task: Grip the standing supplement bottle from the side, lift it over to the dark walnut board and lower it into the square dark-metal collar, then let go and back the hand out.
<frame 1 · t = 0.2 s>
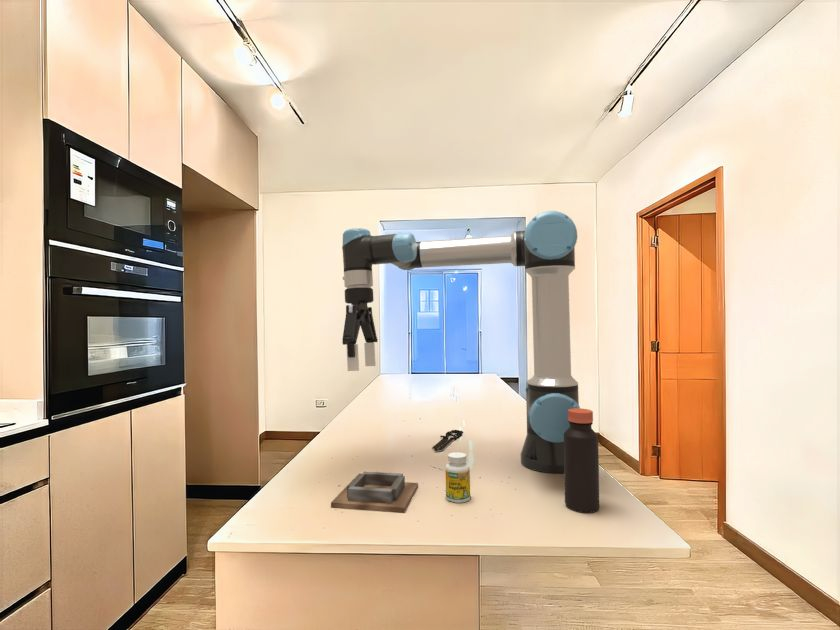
hand: (362, 368, 115), 27 cm above the counter, tool pointing down, fingers open, 13 cm apart
collar board: (376, 496, 98), on the counter
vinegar: (582, 507, 91), on the counter
knife: (448, 443, 142), on the counter
supplement bottle: (458, 499, 96), on the counter
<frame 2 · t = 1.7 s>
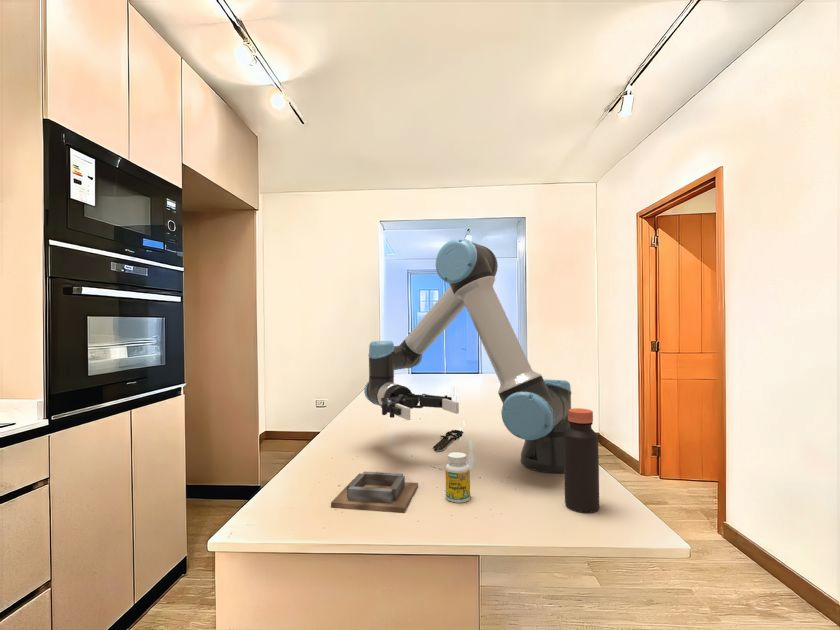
hand: (434, 411, 105), 18 cm above the counter, tool horizontal, fingers open, 13 cm apart
nothing on the counter moved.
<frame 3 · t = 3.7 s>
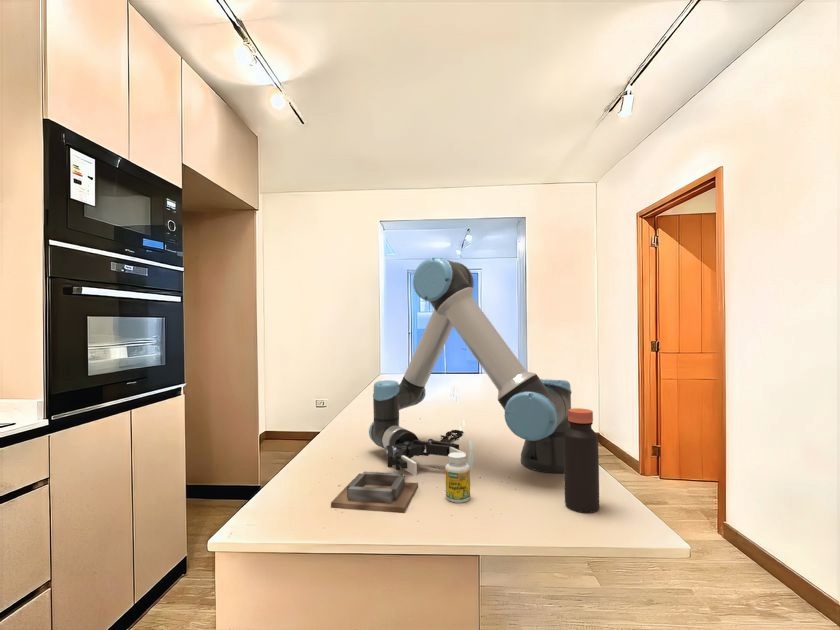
hand: (441, 464, 102), 6 cm above the counter, tool horizontal, fingers open, 13 cm apart
nothing on the counter moved.
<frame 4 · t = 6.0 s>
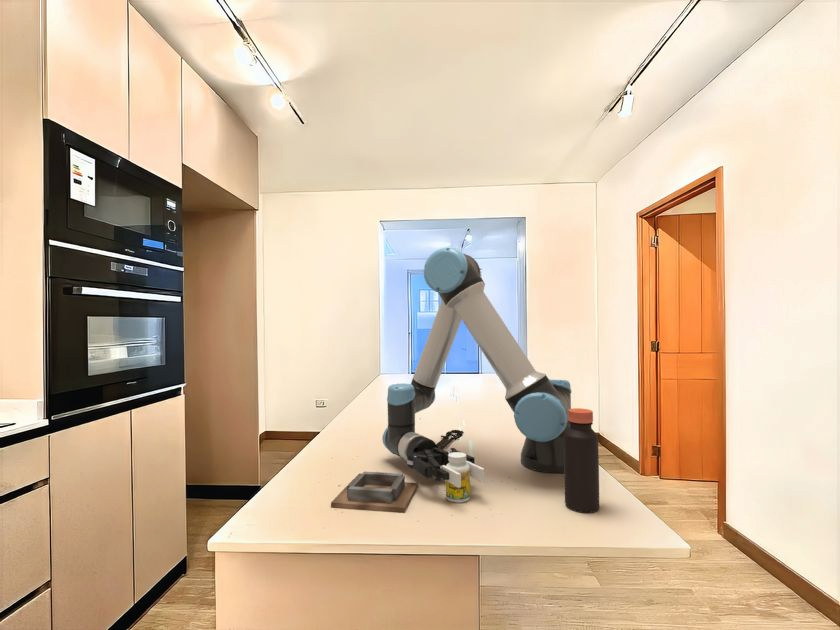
hand: (471, 478, 92), 6 cm above the counter, tool horizontal, fingers closed on supplement bottle, 5 cm apart
supplement bottle: (458, 499, 96), on the counter, touching gripper
everything else where it was.
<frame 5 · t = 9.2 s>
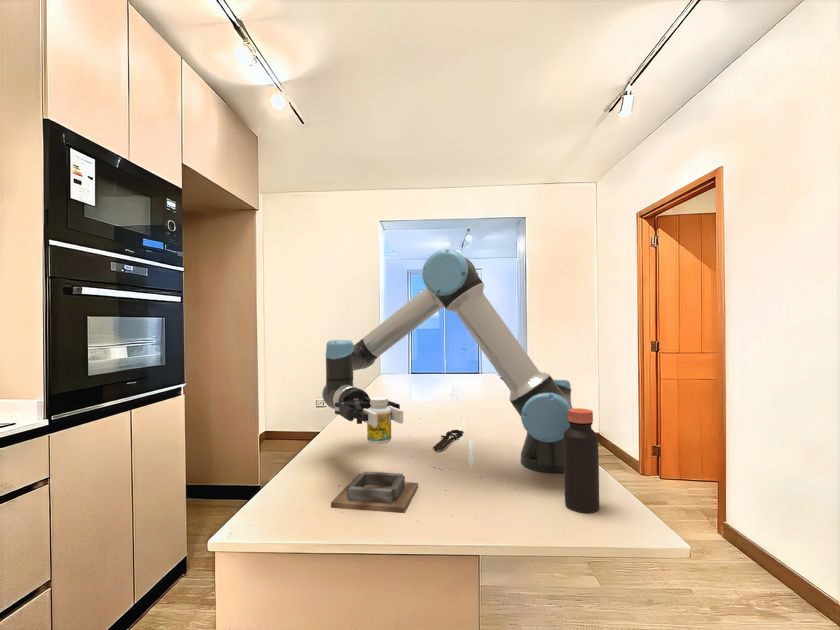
hand: (388, 418, 94), 18 cm above the counter, tool horizontal, fingers closed on supplement bottle, 5 cm apart
supplement bottle: (379, 442, 98), point 12 cm above the counter, touching gripper
everything else where it was.
when the fingers open (9 cm above the counter, at t = 12.2 s): supplement bottle drops 2 cm, resting on collar board.
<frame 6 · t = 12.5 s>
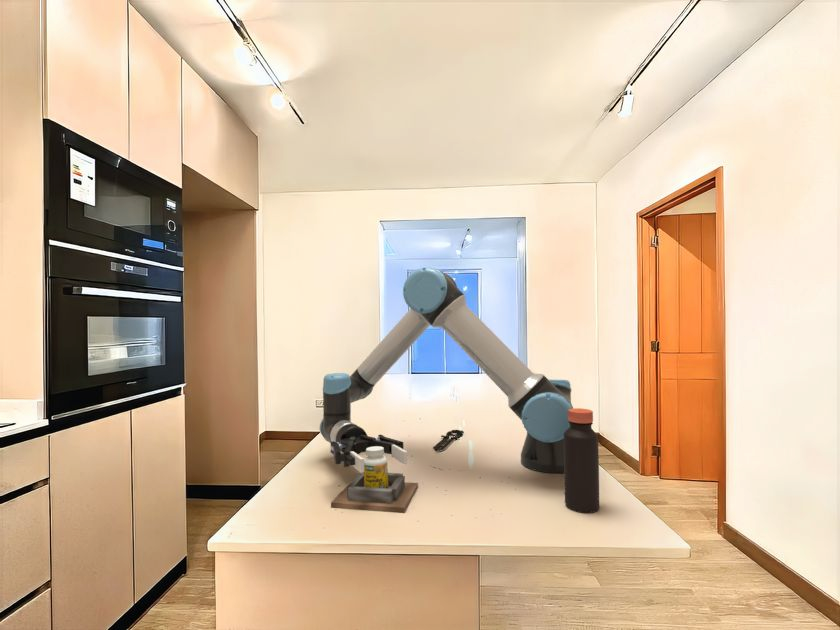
hand: (384, 461, 94), 9 cm above the counter, tool horizontal, fingers open, 9 cm apart
supplement bottle: (376, 492, 98), point 1 cm above the counter, touching collar board
everything else where it was.
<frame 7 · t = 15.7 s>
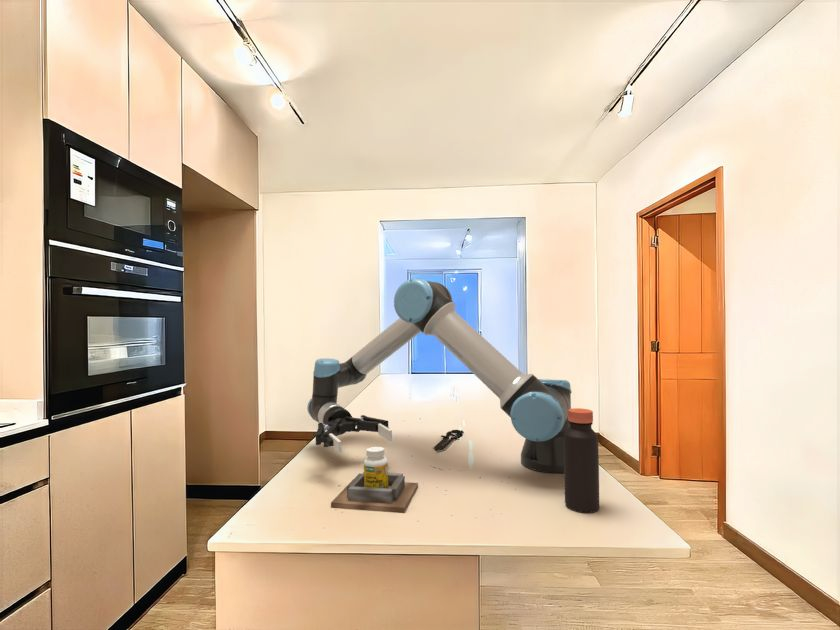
hand: (366, 441, 107), 10 cm above the counter, tool horizontal, fingers open, 13 cm apart
nothing on the counter moved.
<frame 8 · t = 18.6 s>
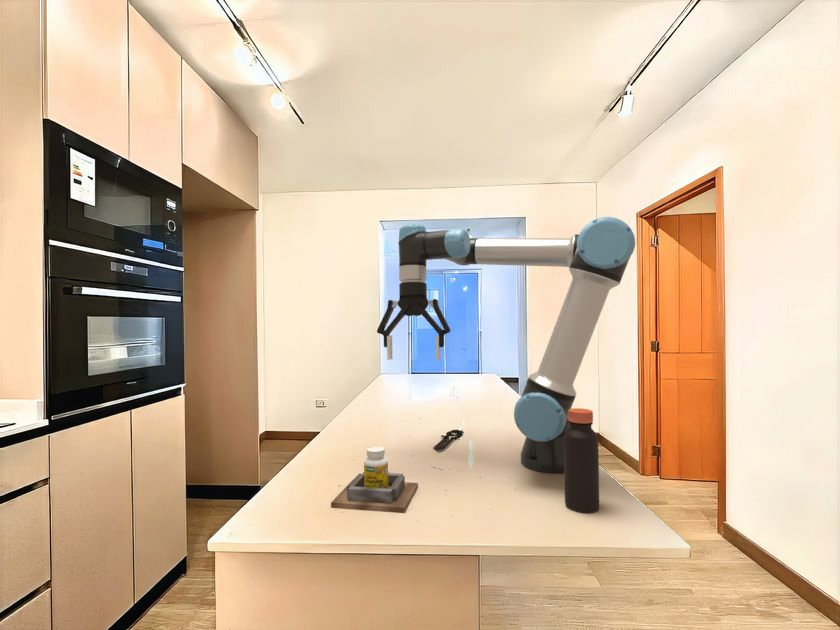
hand: (413, 359, 120), 29 cm above the counter, tool pointing down, fingers open, 13 cm apart
nothing on the counter moved.
at the end: supplement bottle 0.1 cm off-centre on the collar board, point 0.8 cm above the collar board's base; supplement bottle tilted 0°; the gripper is holding nothing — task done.
